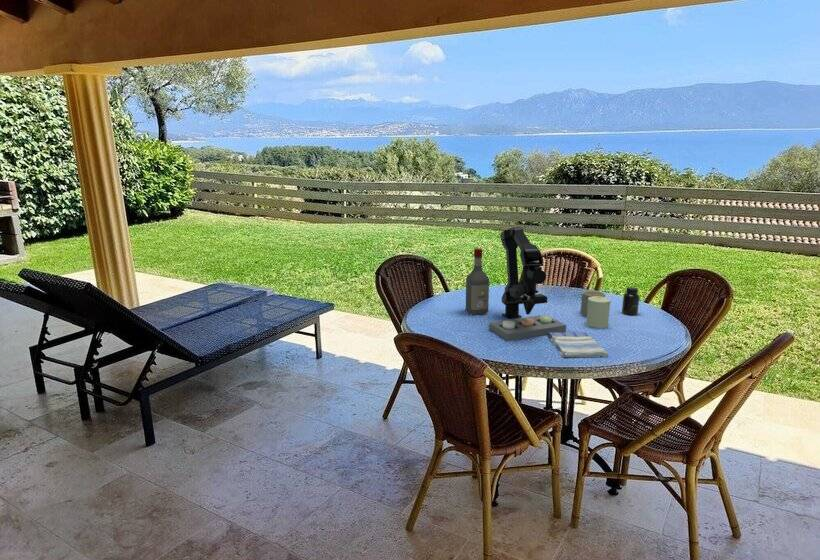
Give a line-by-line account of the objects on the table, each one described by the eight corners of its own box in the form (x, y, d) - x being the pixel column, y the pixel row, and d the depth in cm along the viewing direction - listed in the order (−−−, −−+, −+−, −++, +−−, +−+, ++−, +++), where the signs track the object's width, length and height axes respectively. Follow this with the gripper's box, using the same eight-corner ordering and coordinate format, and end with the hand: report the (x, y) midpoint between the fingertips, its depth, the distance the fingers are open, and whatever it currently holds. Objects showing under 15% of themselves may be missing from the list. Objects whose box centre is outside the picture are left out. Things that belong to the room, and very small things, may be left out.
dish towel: (562, 359, 193) (563, 352, 192) (545, 336, 216) (546, 330, 215) (609, 358, 193) (610, 351, 193) (588, 336, 216) (588, 329, 215)
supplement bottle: (635, 316, 238) (637, 291, 235) (619, 313, 242) (622, 288, 239) (639, 312, 243) (642, 287, 240) (624, 310, 247) (626, 285, 244)
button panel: (488, 329, 224) (489, 322, 223) (545, 321, 233) (545, 314, 233) (507, 341, 210) (507, 334, 210) (565, 331, 220) (566, 325, 219)
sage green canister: (607, 322, 231) (609, 295, 228) (609, 329, 223) (611, 301, 220) (585, 320, 234) (587, 294, 231) (586, 327, 225) (588, 300, 222)
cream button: (500, 328, 220) (500, 321, 219) (510, 326, 221) (510, 319, 221) (506, 332, 215) (506, 325, 214) (517, 330, 217) (517, 323, 216)
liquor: (490, 314, 244) (492, 250, 236) (472, 316, 241) (474, 252, 233) (480, 308, 252) (482, 246, 245) (463, 310, 249) (464, 248, 241)
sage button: (537, 322, 226) (537, 316, 225) (547, 321, 228) (547, 314, 227) (543, 326, 221) (544, 319, 221) (553, 324, 223) (554, 318, 222)
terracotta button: (518, 325, 223) (519, 318, 222) (529, 323, 224) (529, 317, 224) (525, 329, 218) (525, 322, 218) (535, 327, 220) (536, 320, 219)
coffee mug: (606, 317, 237) (607, 296, 234) (583, 317, 237) (585, 296, 235) (598, 308, 250) (599, 288, 247) (576, 308, 250) (578, 288, 248)
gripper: (500, 274, 222) (499, 310, 226) (524, 285, 205) (523, 323, 209) (523, 272, 226) (521, 307, 230) (549, 282, 209) (547, 320, 213)
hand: (527, 314), depth 220 cm, fingers closed
